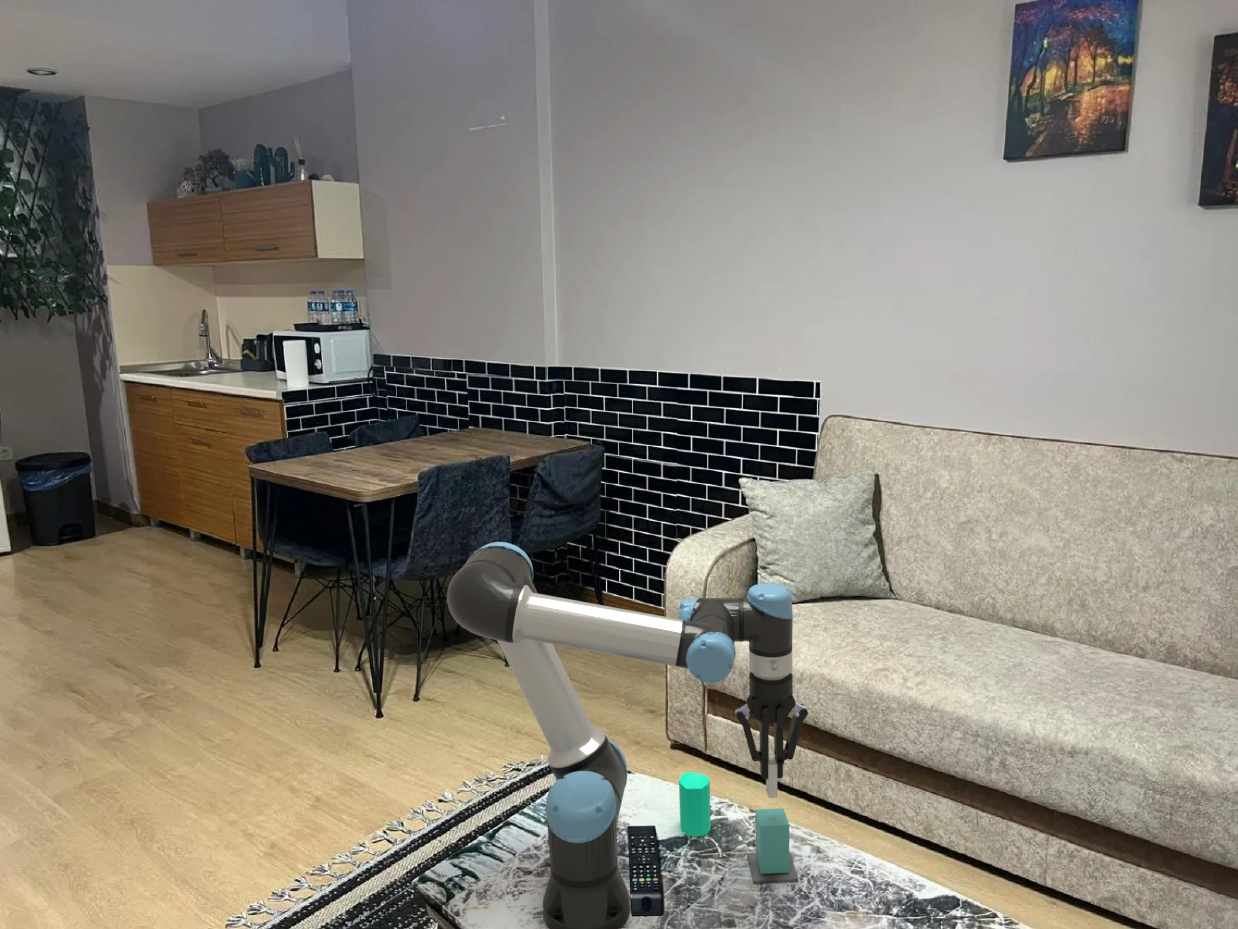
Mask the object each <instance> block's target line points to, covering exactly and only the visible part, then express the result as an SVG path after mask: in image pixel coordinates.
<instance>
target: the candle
mask: <svg viewBox="0 0 1238 929" xmlns="http://www.w3.org/2000/svg"><path fill="white" fill-rule="evenodd" d="M710 785H711V783H710V778H709V776H708V775H705V774H703V773H699V772H692V771H686V772H684V773H683V774H682V775H680V777H679V779H678V791H679V792H678V793H679V823H680V824H679V825H680V827H681V828H680V830H681V829H682V830H681V832H682V833H683V832H685V835H686V834H687V836H688V835H690V836H689V837H693V836H695V837H694V838H697V837H696V836H698V837H703V836H706V835H707V834H709V833H710V830H711V828H712V826H711V825H712V824H711V786H710Z"/></svg>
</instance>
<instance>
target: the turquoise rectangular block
mask: <svg viewBox="0 0 1238 929" xmlns="http://www.w3.org/2000/svg"><path fill="white" fill-rule="evenodd" d="M754 815H755V853H756V858H757V862H758V866H759V870H760V873H761V874H768V873H789V851H790V823H789V820H788V817H787V815H786V812H785V808H784V807H783V808H781V807H780V808H779V807H778V808H763V809H762V808H761V809H760V808H758V809H755V814H754Z"/></svg>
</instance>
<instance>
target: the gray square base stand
mask: <svg viewBox="0 0 1238 929" xmlns="http://www.w3.org/2000/svg"><path fill="white" fill-rule="evenodd" d="M746 855H747V856H746V857H747V861H748V866H749V870H750V872H751V873H750V874H751V877H752V882H753V884H754V885H762V884H781V883H784V884H785V883H799V877H798V873H797V869H796V867H795V864H794V861H793V857H792V855H791V852H790V850H789V873H768V874H761V873H760V870H759V866H758V862H757V858H756V852H750V853H746Z"/></svg>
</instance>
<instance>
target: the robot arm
mask: <svg viewBox="0 0 1238 929" xmlns="http://www.w3.org/2000/svg"><path fill="white" fill-rule="evenodd" d="M533 581H534V568H533V564H532V561H531V559H530V558H529V556H528V554H527V553H526V552H525V551H524V550H522V549H521V547H519V546H517V545H516V544H512V543H510V542H505V541H495V542H490V543H488V544H485V545H483V546H481V547H480V548H478V549H477V550H474V552H473V553H472V554H471V555H470V556H469V558H468V559H467V561H466V562H465V564H463V566H462V567H461V568H460V569H459V570H457V572H456V573H455V574H454V575H453V577H452V578H451V580H450V582H449V585H448V587H447V588H448V589H447V593H446V602H447V607H448V610H449V612H450V614H451V616H452V617H453V620H454V621H455V622H456V623H457V624H458V625H460V627H462V628H463V629H465V631H466V630H467V631H468V632H470V633H472V634H474V635H477V636H479V637H483V638H486V639H491V640H495V641H497V642H498V645H499V646H500V649H501V651H502V653H503V655H504V657H505V659H506V661H507V663H508V666H509V667H510V670H511V671H512V673H513V675H514V678H515V679H516V682H517V683H518V685H519V687H520V689H521V692H522V693H523V695H524V698H525V699H526V702H527V703H528V706H529V707H530V709H531V711H532V714H533V715H534V718H535V720H536V722H537V723H538V726H539V728H540V729H541V732H542V734H543V736H544V738H545V740H546V742H547V743H548V746H549V748H550V751H549V754H548V756H547V763H548V766H549V767H550V769H551V772H552V773H553V776H554V777H555V780H556V781H555V782H554V783H553V784H552V785H551V787H550V788H549V790H548V793H547V795H546V804H545V816H546V819H545V820H546V822H547V823H546V824H547V836H548V838H547V839H548V851H549V864H550V866H549V867H550V874H549V878H548V880H547V884H546V888H545V892H544V894H543V899H542V915H543V916H542V917H543V920H544V923H545V925H546V927H547V928H548V929H621V928H622V927H623V926H624V925H625V924H626V922H627V920H628V919H629V916H630V911H631V905H630V904H631V902H630V901H631V900H630V898H631V897H630V893H629V889H628V887H627V885H626V882H625V881H624V878H623V876H622V874H621V870H620V869H619V859H618V858H619V857H618V838H617V836H618V835H617V832H618V824H619V818H620V817H619V816H620V812H621V811H620V810H621V807H622V804H623V803H622V802H623V798H624V793H625V789H626V786H627V782H628V766H627V761H626V757H625V755H624V753H623V751H622V749H621V748H620V747H619V746H618V744H616V743H615V742H614V741H613V740H609V739H608V737H607V735H606V733H605V732H604V730H603V729H601V728H597V727H594V726H593V725H592V723H591V721H590V718H589V717H588V715H587V713H586V711H585V707H584V706H583V704H582V702H581V700H580V698H579V696H578V694H577V691H576V689H575V687H574V685H573V683H572V681H571V680H570V677H569V675H568V673H567V671H566V669H565V667H564V664H563V662H562V661H561V658H560V657H559V655H558V652H557V651H556V648H555V646H554V645H557V646H563V647H568V648H574V649H580V650H584V651H590V652H597V653H600V654H606V655H612V656H619V657H623V658H629V659H634V660H640V661H646V662H652V663H655V664H661V665H667V666H673V667H679V668H682V669H687V670H688V671H689V673H690V674H691V675H692V676H693V677H694V678H695V679H696V680H699V681H700V682H703V683H706V684H711V683H712V684H715V683H717V682H720V681H722V680H725V679H726V678H727V677H728V676H730V674H731V672H732V671H733V670H732V669H733V668H734V666H735V659H736V644H735V642H738V643H742V642H748V643H749V644H748V670H749V671H750V672H749V676H748V678H749V680H748V681H749V682H748V683H749V684H748V686H749V688H748V691H749V693H748V694H749V695H748V697H747V699H746V703H745V704H743V705H742V706H741V707H740V706H736V707H735V708H734V713H735V716H736V719H737V720H738V721H739V722H740V724H741V726H742V729H743V733H744V736H745V740H746V743H747V746H748V747H747V748H748V750H749V754H750V757H751V760H752V761H753V762H759V763H760V766H759V767H760V768H759V769H760V772H759V773H760V776H761V778H762V780H765V784H766V785H765V786H766V787H765V788H766V793H767V796H768V798H769V799H773V798H778V779H783V777H784V764H785V761H786V760H789V761H790V760H793V759H794V755H795V753H796V749H797V744H798V741H799V736H800V732H801V729H802V725H803V722H804V720H805V719H806V718H807V716H808V715H809V712H808V708H807V707H806V705H805V704H804V703H799V702H797V701H796V700H795V697H794V695H793V694H794V692H793V691H794V690H793V687H794V686H793V684H794V683H793V682H794V681H793V676H794V675H793V673H792V672H793V668H794V667H793V624H794V623H793V618H794V616H793V602H792V601H793V600H792V593H791V591H790V590H789V589H788V588H787V587H786V586H783V585H781V584H778V583H771V582H768V583H767V582H766V583H762V584H754V585H752V586H751V587H749V589H748V591H747V592H748V593H747V596H746V597H703V596H699V597H692V598H684V599H682V600H681V601H680V603H679V614H678V615H679V616H678V618H674V617H668V616H663V615H658V614H652V613H645V612H642V611H641V612H640V611H635V610H630V609H625V608H619V607H613V606H609V605H603V604H602V605H601V604H597V603H590V602H586V601H585V602H584V601H580V600H575V599H569V598H564V597H559V596H558V597H557V596H553V595H548V594H542V593H538V591H537V589H536V587H535V584H534V583H533ZM750 712H751V713H752V714H753V715H754V717H755V718H756V719H757V721H759V750H757V747H756V744H755V740H754V737H753V733H752V729H751V725H750V722H749V718H750V717H751V716H750ZM791 712H792V713H793V714H792V716H791V721H790V725H789V730H788V733H787V737H786V741H785V745H784V728H785V727H784V725H785V722H784V721H785V720H786V718H787V717H788V716H789V714H790V713H791ZM771 723H773V752H774V753H773V755H774V756H770V755H769V752H770V750H769V749H770V747H769V745H770V744H769V742H770V740H769V739H770V738H769V735H770V733H769V731H770V730H769V729H770V724H771Z"/></svg>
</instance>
